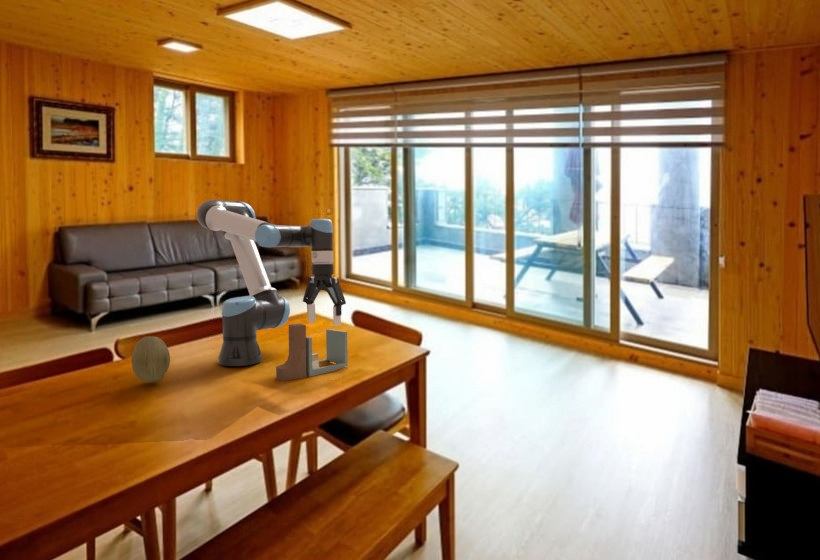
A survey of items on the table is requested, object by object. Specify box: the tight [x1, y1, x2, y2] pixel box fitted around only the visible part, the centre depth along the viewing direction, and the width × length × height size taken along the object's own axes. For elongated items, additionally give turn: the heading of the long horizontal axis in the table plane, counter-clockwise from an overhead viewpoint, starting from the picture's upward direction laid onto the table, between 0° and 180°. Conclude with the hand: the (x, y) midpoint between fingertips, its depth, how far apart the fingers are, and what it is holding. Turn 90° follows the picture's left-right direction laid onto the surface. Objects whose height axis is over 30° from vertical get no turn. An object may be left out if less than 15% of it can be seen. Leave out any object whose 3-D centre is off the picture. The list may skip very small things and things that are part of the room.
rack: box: [306, 328, 349, 378], centre depth 193 cm, size 10×17×13 cm, turn 139°
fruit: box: [131, 335, 171, 383], centre depth 178 cm, size 11×11×15 cm
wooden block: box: [275, 323, 307, 382], centre depth 182 cm, size 9×4×18 cm, turn 126°
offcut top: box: [312, 352, 319, 361], centre depth 189 cm, size 6×3×2 cm, turn 47°
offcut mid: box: [312, 359, 320, 368], centre depth 190 cm, size 7×3×2 cm, turn 48°
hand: (324, 323), depth 194 cm, fingers open, 13 cm apart
